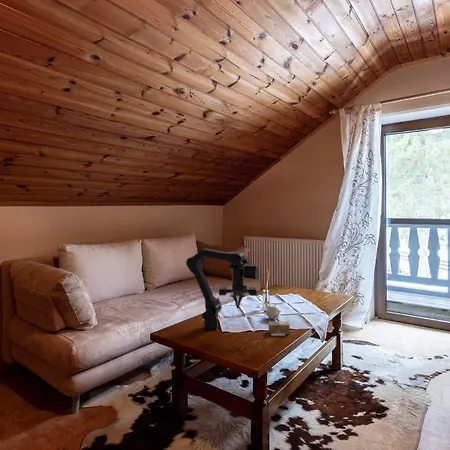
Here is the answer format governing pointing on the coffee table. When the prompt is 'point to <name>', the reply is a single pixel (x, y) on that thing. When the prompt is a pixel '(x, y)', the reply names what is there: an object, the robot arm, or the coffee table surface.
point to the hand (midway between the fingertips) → (237, 307)
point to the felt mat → (278, 334)
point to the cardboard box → (279, 328)
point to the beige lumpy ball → (272, 312)
